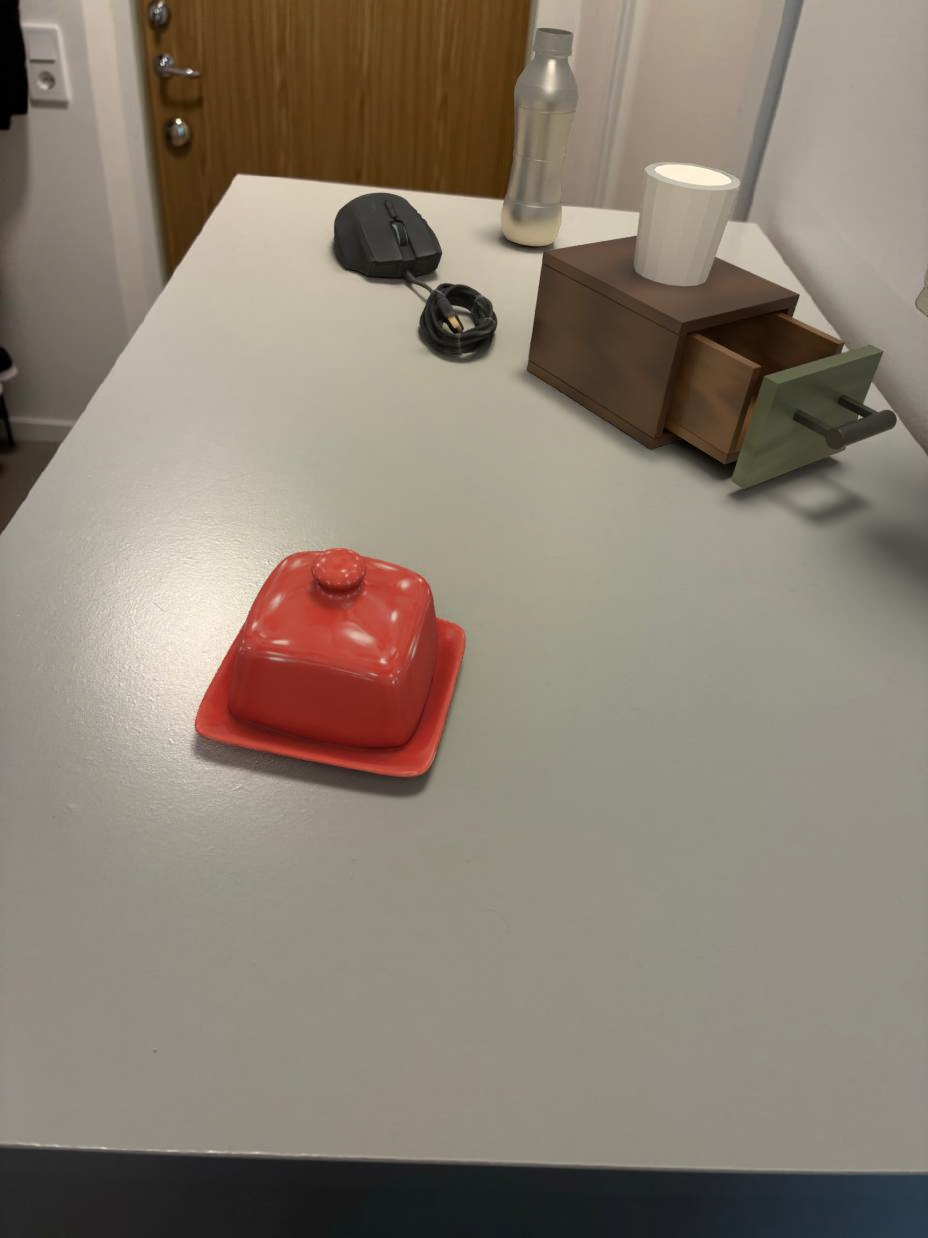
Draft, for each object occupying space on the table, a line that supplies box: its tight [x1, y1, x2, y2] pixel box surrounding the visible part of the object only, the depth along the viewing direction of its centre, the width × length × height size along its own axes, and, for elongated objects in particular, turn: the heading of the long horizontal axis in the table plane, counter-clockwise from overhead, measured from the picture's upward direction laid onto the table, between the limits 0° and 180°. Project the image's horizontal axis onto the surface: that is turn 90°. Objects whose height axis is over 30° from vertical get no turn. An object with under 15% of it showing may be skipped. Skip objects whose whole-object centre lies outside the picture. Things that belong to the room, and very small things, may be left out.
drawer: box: [664, 311, 898, 490], centre depth 69 cm, size 18×12×8 cm, turn 36°
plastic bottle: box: [500, 27, 580, 247], centre depth 98 cm, size 6×7×20 cm
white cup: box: [634, 161, 742, 286], centre depth 70 cm, size 7×7×7 cm
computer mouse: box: [333, 192, 498, 354], centre depth 89 cm, size 10×32×6 cm, turn 24°
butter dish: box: [194, 547, 467, 778], centre depth 45 cm, size 12×12×8 cm
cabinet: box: [526, 235, 801, 450], centre depth 75 cm, size 15×13×10 cm
